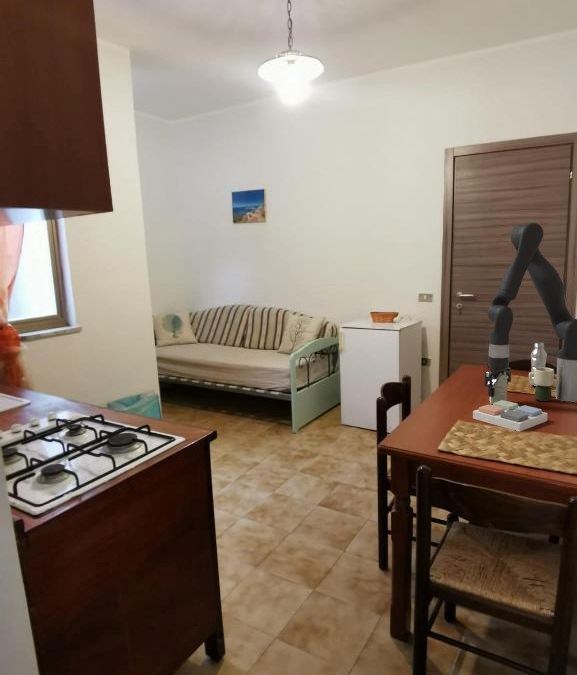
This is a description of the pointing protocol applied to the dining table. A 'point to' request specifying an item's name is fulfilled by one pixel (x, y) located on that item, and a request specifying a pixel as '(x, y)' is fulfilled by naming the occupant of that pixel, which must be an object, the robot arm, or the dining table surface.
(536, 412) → the key slate
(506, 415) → the key charcoal
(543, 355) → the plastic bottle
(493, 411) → the key terracotta
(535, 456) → the dining table surface
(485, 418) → the white flat square tray
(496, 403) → the key sage
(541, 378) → the character mug
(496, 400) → the skincare box
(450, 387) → the dining table surface
